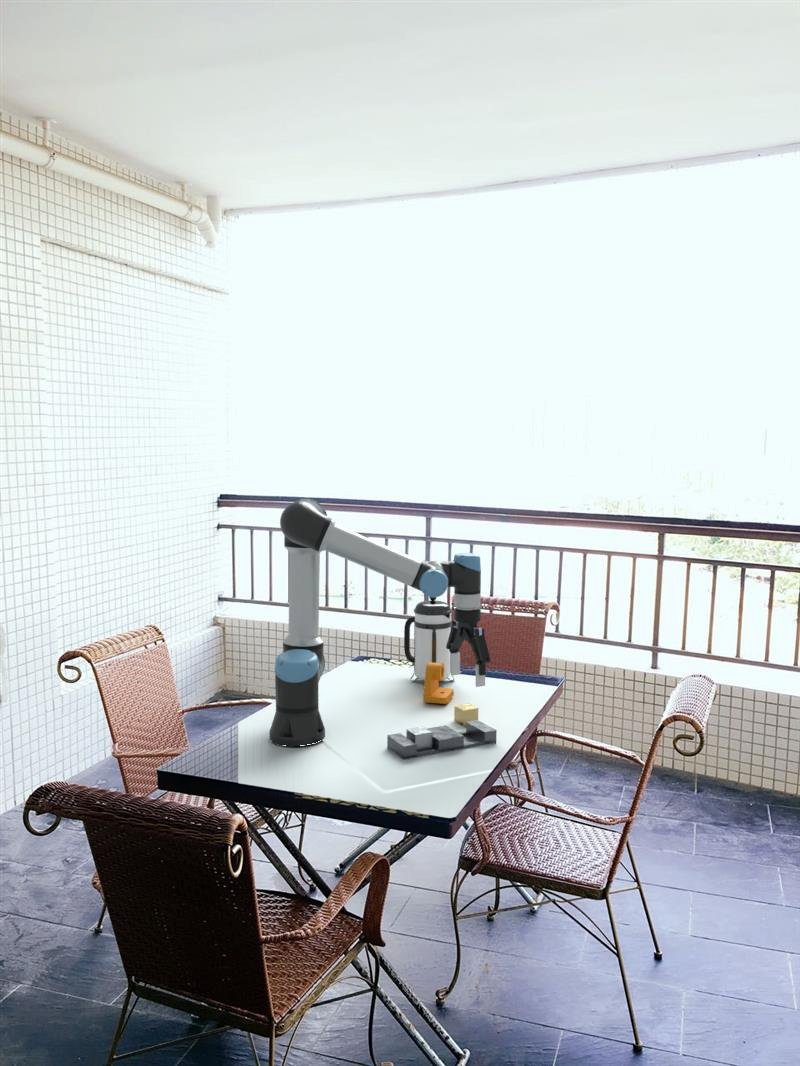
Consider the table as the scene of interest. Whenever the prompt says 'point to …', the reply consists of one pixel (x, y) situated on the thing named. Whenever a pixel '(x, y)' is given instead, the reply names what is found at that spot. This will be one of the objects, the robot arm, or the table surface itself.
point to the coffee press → (429, 637)
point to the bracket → (436, 685)
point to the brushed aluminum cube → (420, 738)
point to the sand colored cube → (465, 713)
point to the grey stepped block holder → (444, 740)
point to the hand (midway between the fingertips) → (467, 680)
